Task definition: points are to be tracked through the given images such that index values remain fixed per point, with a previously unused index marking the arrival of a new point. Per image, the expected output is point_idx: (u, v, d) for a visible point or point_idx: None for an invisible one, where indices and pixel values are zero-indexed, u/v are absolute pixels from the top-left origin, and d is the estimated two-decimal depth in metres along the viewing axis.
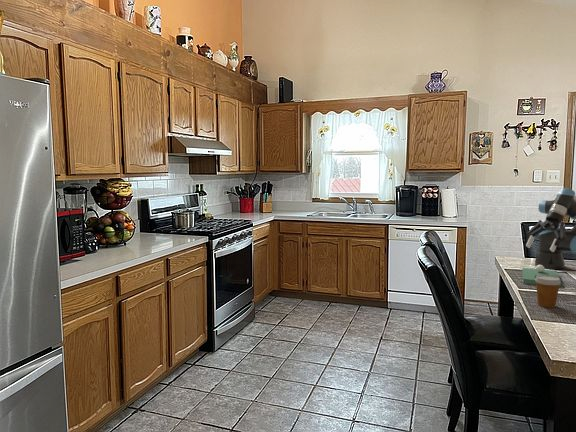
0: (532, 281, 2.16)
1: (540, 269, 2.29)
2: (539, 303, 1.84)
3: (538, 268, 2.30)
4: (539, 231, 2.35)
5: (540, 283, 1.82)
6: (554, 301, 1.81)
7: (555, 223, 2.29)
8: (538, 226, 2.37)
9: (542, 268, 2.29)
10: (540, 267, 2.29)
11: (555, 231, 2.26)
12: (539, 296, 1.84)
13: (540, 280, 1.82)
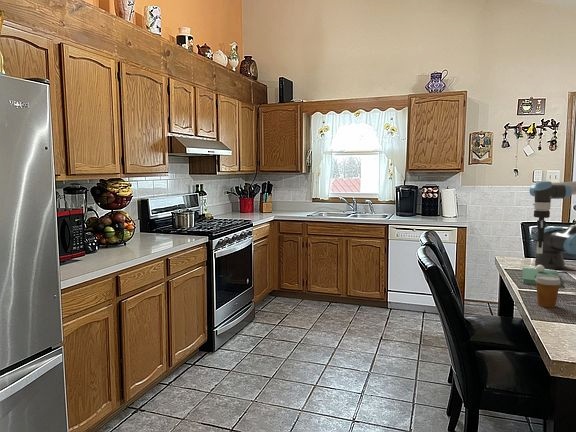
0: (532, 281, 2.16)
1: (540, 269, 2.29)
2: (539, 303, 1.84)
3: (538, 268, 2.30)
4: None
5: (540, 283, 1.82)
6: (554, 301, 1.81)
7: (539, 220, 2.33)
8: None
9: (542, 268, 2.29)
10: (540, 267, 2.29)
11: (538, 232, 2.35)
12: (539, 296, 1.84)
13: (540, 280, 1.82)
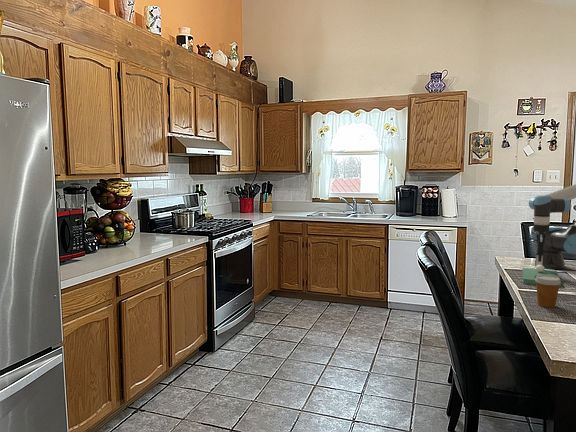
0: (532, 281, 2.16)
1: (540, 269, 2.29)
2: (539, 303, 1.84)
3: (538, 268, 2.30)
4: None
5: (540, 283, 1.82)
6: (554, 301, 1.81)
7: (538, 235, 2.34)
8: None
9: (542, 268, 2.29)
10: (540, 267, 2.29)
11: None
12: (539, 296, 1.84)
13: (540, 280, 1.82)
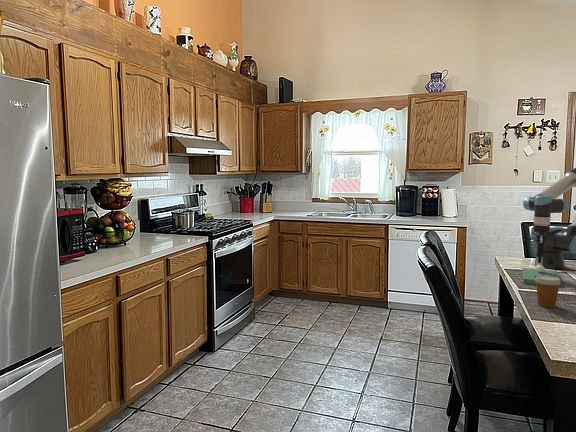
0: (532, 281, 2.16)
1: (540, 271, 2.29)
2: (539, 303, 1.84)
3: (538, 270, 2.29)
4: None
5: (540, 283, 1.82)
6: (554, 301, 1.81)
7: (538, 235, 2.29)
8: None
9: (542, 270, 2.28)
10: (540, 269, 2.29)
11: None
12: (539, 296, 1.84)
13: (540, 280, 1.82)
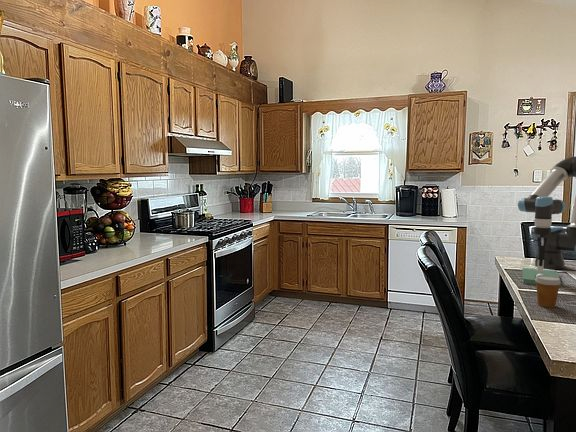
0: (532, 281, 2.16)
1: None
2: (539, 303, 1.84)
3: None
4: None
5: (540, 283, 1.82)
6: (554, 301, 1.81)
7: (539, 238, 2.22)
8: None
9: None
10: None
11: None
12: (539, 296, 1.84)
13: (540, 280, 1.82)
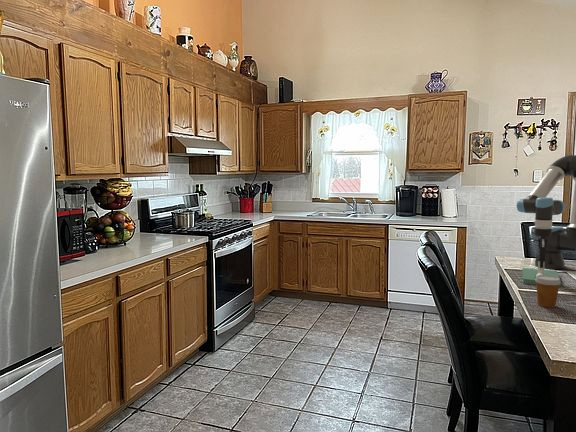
0: (532, 281, 2.16)
1: None
2: (539, 303, 1.84)
3: None
4: None
5: (540, 283, 1.82)
6: (554, 301, 1.81)
7: (540, 239, 2.20)
8: None
9: None
10: None
11: (539, 251, 2.22)
12: (539, 296, 1.84)
13: (540, 280, 1.82)
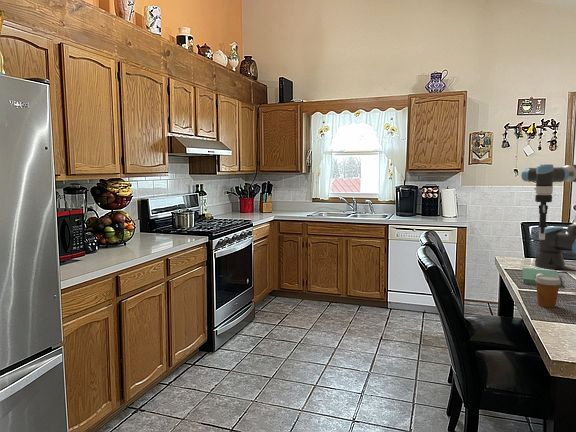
0: (532, 281, 2.16)
1: None
2: (539, 303, 1.84)
3: None
4: None
5: (540, 283, 1.82)
6: (554, 301, 1.81)
7: (541, 205, 2.24)
8: None
9: None
10: None
11: (540, 217, 2.26)
12: (539, 296, 1.84)
13: (540, 280, 1.82)
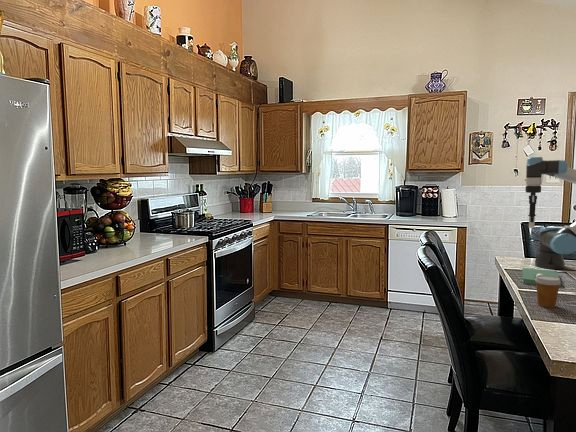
0: (532, 281, 2.16)
1: None
2: (539, 303, 1.84)
3: None
4: None
5: (540, 283, 1.82)
6: (554, 301, 1.81)
7: (530, 195, 2.38)
8: None
9: None
10: None
11: None
12: (539, 296, 1.84)
13: (540, 280, 1.82)
